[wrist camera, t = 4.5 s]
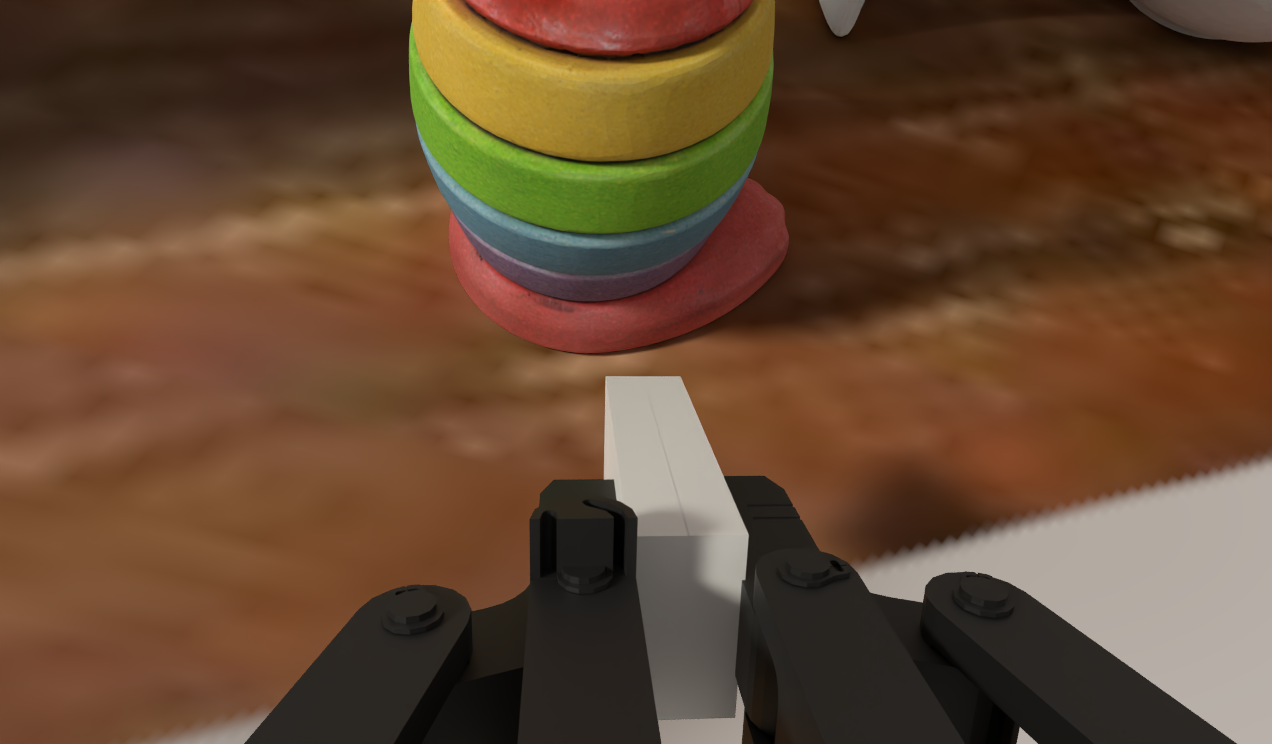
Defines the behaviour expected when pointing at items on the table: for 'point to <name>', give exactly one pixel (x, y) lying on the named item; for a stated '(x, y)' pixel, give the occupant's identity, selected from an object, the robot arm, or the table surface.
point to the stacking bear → (600, 160)
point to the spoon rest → (1187, 3)
